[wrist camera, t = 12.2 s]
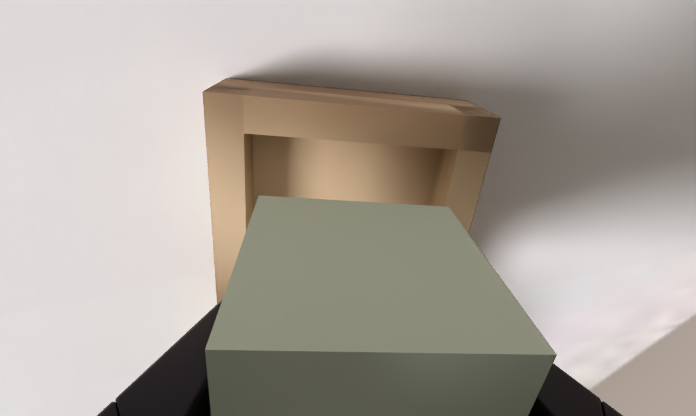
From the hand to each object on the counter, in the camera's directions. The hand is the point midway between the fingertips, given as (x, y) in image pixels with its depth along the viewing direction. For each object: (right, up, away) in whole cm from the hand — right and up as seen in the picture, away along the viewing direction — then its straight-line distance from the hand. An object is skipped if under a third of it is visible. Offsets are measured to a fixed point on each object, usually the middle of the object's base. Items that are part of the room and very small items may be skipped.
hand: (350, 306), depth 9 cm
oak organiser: (-1, -1, +7) cm, 7 cm away
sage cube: (0, +1, +1) cm, 1 cm away
